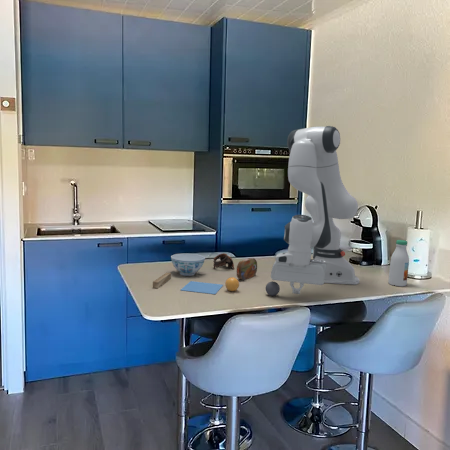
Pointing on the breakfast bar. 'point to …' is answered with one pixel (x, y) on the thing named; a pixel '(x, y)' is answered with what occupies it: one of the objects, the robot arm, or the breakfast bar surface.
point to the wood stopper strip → (161, 280)
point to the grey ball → (272, 288)
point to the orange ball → (232, 284)
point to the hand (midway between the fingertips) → (296, 293)
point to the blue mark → (202, 287)
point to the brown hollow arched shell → (223, 260)
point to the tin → (246, 269)
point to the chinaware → (187, 263)
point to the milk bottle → (399, 265)
